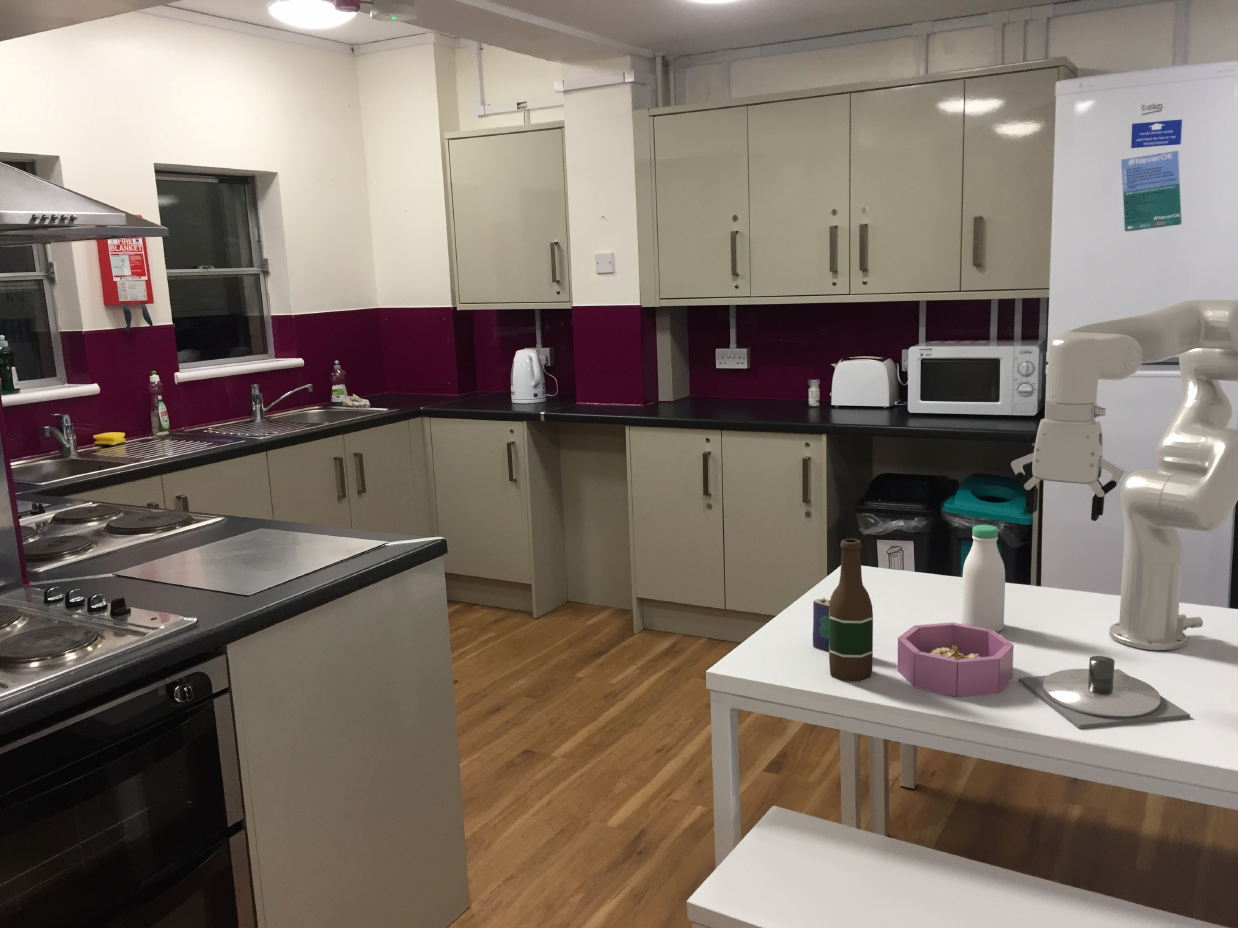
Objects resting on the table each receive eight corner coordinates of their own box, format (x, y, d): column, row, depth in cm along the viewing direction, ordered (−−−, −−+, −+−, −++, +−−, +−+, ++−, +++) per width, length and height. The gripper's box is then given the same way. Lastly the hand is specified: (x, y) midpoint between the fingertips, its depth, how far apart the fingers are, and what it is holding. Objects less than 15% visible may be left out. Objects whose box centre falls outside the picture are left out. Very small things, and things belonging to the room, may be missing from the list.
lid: (1117, 670, 171) (1119, 636, 170) (1184, 713, 154) (1187, 676, 153) (1022, 678, 169) (1024, 645, 168) (1080, 723, 153) (1082, 685, 151)
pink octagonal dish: (978, 651, 183) (979, 620, 182) (1027, 690, 166) (1029, 655, 165) (886, 659, 181) (886, 627, 180) (926, 699, 164) (927, 664, 163)
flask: (861, 653, 185) (862, 597, 182) (854, 658, 182) (854, 601, 180) (816, 642, 190) (816, 588, 188) (808, 647, 188) (808, 592, 186)
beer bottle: (865, 685, 170) (866, 548, 166) (821, 677, 174) (820, 543, 170) (879, 669, 177) (881, 537, 172) (836, 661, 181) (837, 532, 176)
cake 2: (977, 693, 167) (977, 664, 166) (917, 682, 173) (916, 654, 172) (992, 668, 175) (992, 639, 174) (934, 658, 181) (934, 631, 180)
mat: (1118, 672, 172) (1118, 668, 172) (1189, 717, 154) (1190, 714, 154) (1018, 681, 170) (1018, 677, 170) (1078, 728, 152) (1079, 724, 152)
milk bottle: (1006, 635, 190) (1010, 532, 186) (963, 633, 192) (966, 532, 188) (999, 621, 198) (1003, 522, 194) (958, 619, 199) (961, 521, 195)
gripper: (1132, 413, 162) (1124, 517, 165) (1020, 407, 172) (1014, 505, 175) (1125, 419, 156) (1117, 526, 159) (1008, 412, 166) (1003, 513, 169)
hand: (1063, 515), depth 167 cm, fingers open, 9 cm apart
